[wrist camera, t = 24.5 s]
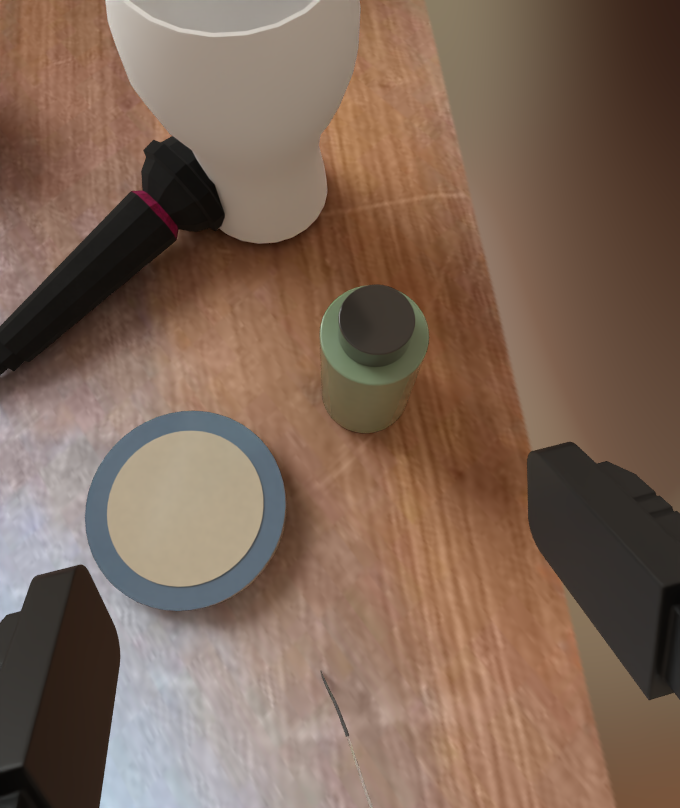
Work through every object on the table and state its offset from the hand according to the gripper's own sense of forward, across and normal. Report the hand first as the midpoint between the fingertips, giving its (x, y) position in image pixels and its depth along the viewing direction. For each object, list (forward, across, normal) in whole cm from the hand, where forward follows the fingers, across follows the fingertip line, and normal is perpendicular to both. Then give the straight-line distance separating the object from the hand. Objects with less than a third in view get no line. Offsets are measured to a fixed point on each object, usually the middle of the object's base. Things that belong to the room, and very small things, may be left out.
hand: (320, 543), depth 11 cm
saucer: (+19, +6, +12) cm, 23 cm away
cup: (+32, -2, -1) cm, 32 cm away
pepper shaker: (+22, -5, +9) cm, 24 cm away
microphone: (+30, +8, +1) cm, 31 cm away
